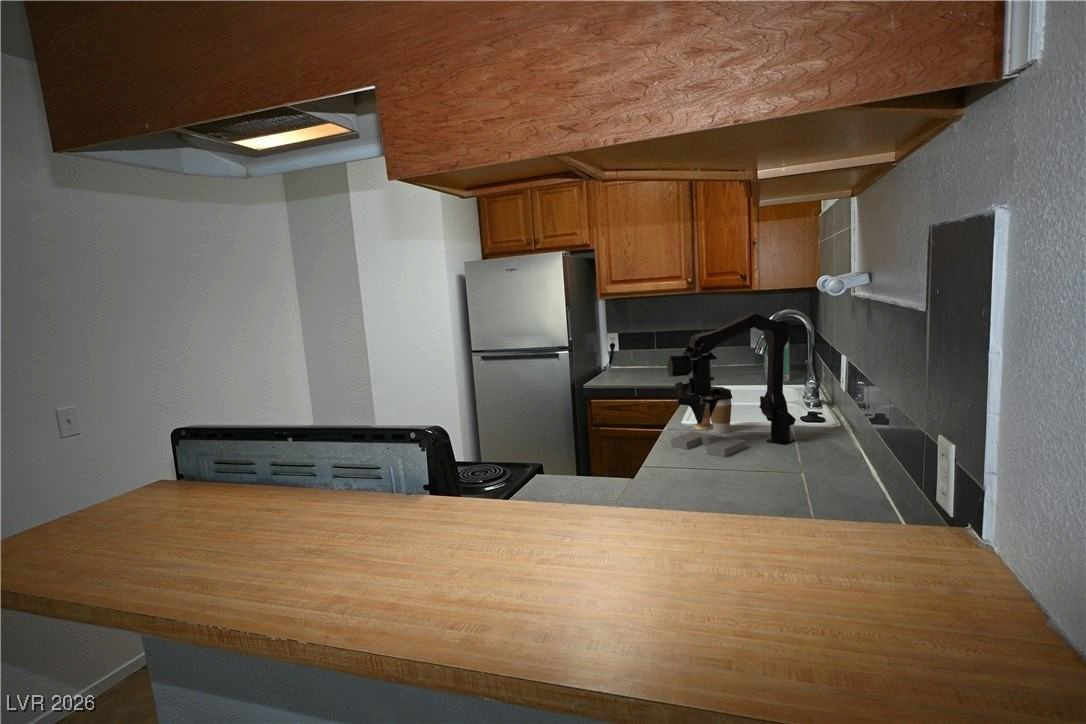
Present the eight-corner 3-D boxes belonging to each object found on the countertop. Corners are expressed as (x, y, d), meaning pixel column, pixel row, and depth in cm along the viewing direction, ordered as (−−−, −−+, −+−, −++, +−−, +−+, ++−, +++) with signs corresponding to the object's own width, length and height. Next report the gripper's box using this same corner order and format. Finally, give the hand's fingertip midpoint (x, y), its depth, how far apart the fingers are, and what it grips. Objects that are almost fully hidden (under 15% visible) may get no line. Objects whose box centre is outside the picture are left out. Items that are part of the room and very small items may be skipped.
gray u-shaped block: (692, 438, 193) (692, 431, 192) (745, 448, 177) (745, 440, 177) (671, 446, 185) (670, 439, 185) (724, 457, 170) (724, 449, 169)
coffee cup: (737, 430, 199) (736, 389, 197) (727, 435, 193) (725, 393, 191) (715, 427, 204) (714, 387, 202) (704, 432, 198) (703, 391, 196)
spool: (701, 424, 183) (700, 401, 182) (717, 427, 179) (716, 403, 178) (690, 428, 179) (689, 404, 178) (706, 431, 175) (705, 406, 174)
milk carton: (764, 379, 290) (763, 332, 287) (780, 378, 291) (779, 330, 288) (773, 382, 281) (772, 333, 278) (790, 380, 282) (789, 331, 279)
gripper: (697, 368, 189) (698, 413, 191) (662, 377, 177) (665, 424, 179) (726, 370, 180) (727, 417, 182) (692, 379, 168) (694, 429, 170)
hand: (703, 422), depth 179 cm, fingers closed on spool, 4 cm apart
